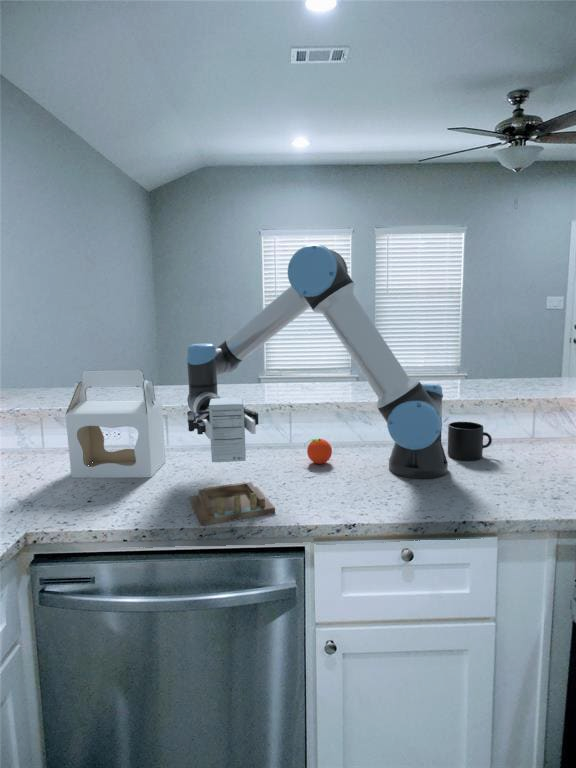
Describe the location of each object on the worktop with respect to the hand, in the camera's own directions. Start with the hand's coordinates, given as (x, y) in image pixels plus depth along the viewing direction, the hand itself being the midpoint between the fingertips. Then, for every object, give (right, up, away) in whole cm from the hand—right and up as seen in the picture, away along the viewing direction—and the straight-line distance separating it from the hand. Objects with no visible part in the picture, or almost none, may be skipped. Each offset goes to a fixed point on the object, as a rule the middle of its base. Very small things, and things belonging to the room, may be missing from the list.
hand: (232, 429), depth 106 cm
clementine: (+20, -13, +37) cm, 44 cm away
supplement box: (-1, -7, +6) cm, 9 cm away
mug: (+64, -11, +40) cm, 76 cm away
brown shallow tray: (-1, -18, +7) cm, 19 cm away
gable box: (-35, -15, +35) cm, 52 cm away
